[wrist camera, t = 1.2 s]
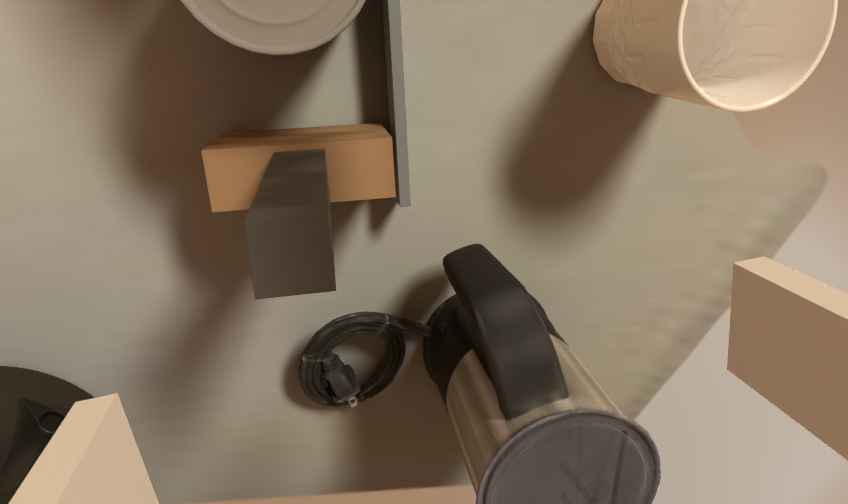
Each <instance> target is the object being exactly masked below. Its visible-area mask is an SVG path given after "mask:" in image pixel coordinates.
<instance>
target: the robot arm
mask: <svg viewBox="0 0 848 504" xmlns="http://www.w3.org/2000/svg"><path fill="white" fill-rule="evenodd" d="M727 369H728V370H729V371H730V372H731V373H733V374H734V375H736V376H737V377H738V378H739V379H741V380H742V381H743V382H745V383H746V384H747V385H749V386H750V387H751V388H753V389H754V390H755V391H757V392H758V393H759V394H761V395H762V396H763V397H765V398H766V399H768V400H769V401H770V402H771V403H773V404H774V405H775V406H777V407H778V408H779V409H781V410H782V411H783V412H784V413H786V414H787V415H789V416H790V417H791V418H792V419H794V420H795V421H796V422H798V423H799V424H801V425H802V426H803V427H805V428H806V429H807V430H808V431H810V432H811V433H812V434H814V435H815V436H816V437H818V438H819V439H820V440H822V441H823V442H824V443H825V444H827V445H828V446H829V447H831V448H832V449H833V450H835V451H836V452H837V453H839V454H840V455H841V456H843V457H844V458H845V459H847V460H848V294H847V293H845V292H843V291H840V290H838V289H836V288H834V287H831V286H829V285H827V284H825V283H822V282H820V281H818V280H816V279H814V278H811V277H809V276H807V275H805V274H802V273H800V272H798V271H796V270H793V269H791V268H789V267H787V266H785V265H782V264H780V263H778V262H776V261H773V260H771V259H769V258H767V257H760V258H755V259H750V260H745V261H741V262H736V263H734V265H733V281H732V298H731V316H730V331H729V348H728V364H727ZM0 504H159V503H158V500H157V497H156V495H155V492H154V489H153V487H152V484H151V481H150V479H149V476H148V473H147V471H146V468H145V465H144V463H143V460H142V457H141V455H140V452H139V450H138V447H137V444H136V442H135V439H134V436H133V434H132V431H131V428H130V426H129V423H128V420H127V418H126V415H125V412H124V410H123V407H122V404H121V402H120V399H119V396H118V394H117V393H116V394H111V395H107V396H102V397H97V398H94V397H93V396H92V395H90V394H89V393H87V392H86V391H84V390H82V389H81V388H79V387H77V386H75V385H73V384H71V383H69V382H67V381H65V380H62V379H60V378H57V377H55V376H52V375H49V374H46V373H42V372H38V371H34V370H29V369H24V368H17V367H7V366H0Z"/></svg>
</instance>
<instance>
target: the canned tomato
mask: <svg viewBox="0 0 848 504" xmlns="http://www.w3.org/2000/svg"><path fill="white" fill-rule="evenodd" d="M365 1H366V0H180V2H181V3H182V4H183V5H184V6H185V8H186V9H187V10H188V11H189V12H190V14H191V15H192V16H193V17H194V18H195V19H196V20H197V21H198V22H199V23H200V24H201V25H203V26H204V27H205V28H206V29H207V30H209V31H210V32H211V33H212V34H214V35H215V36H217V37H219V38H220V39H222V40H224V41H226V42H227V43H229V44H231V45H233V46H235V47H238V48H241V49H244V50H247V51H250V52H252V53H258V54H265V55H272V56H279V55H295V54H299V53H303V52H307V51H311V50H315V49H317V48H318V47H320V46H322V45H324V44H326V43H328V42H329V41H331V40H332V39H334V38H335V37H336V36H337V35H339V34H340V33H341V32H342V31H344V30H345V29H346V28H347V27H348V26H349V24H350V23H351V22H352V21H353V20H354V18H355V17H356V16H357V15H358V13H359V12H360V10H361V8H362V7H363V5H364V3H365Z"/></svg>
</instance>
